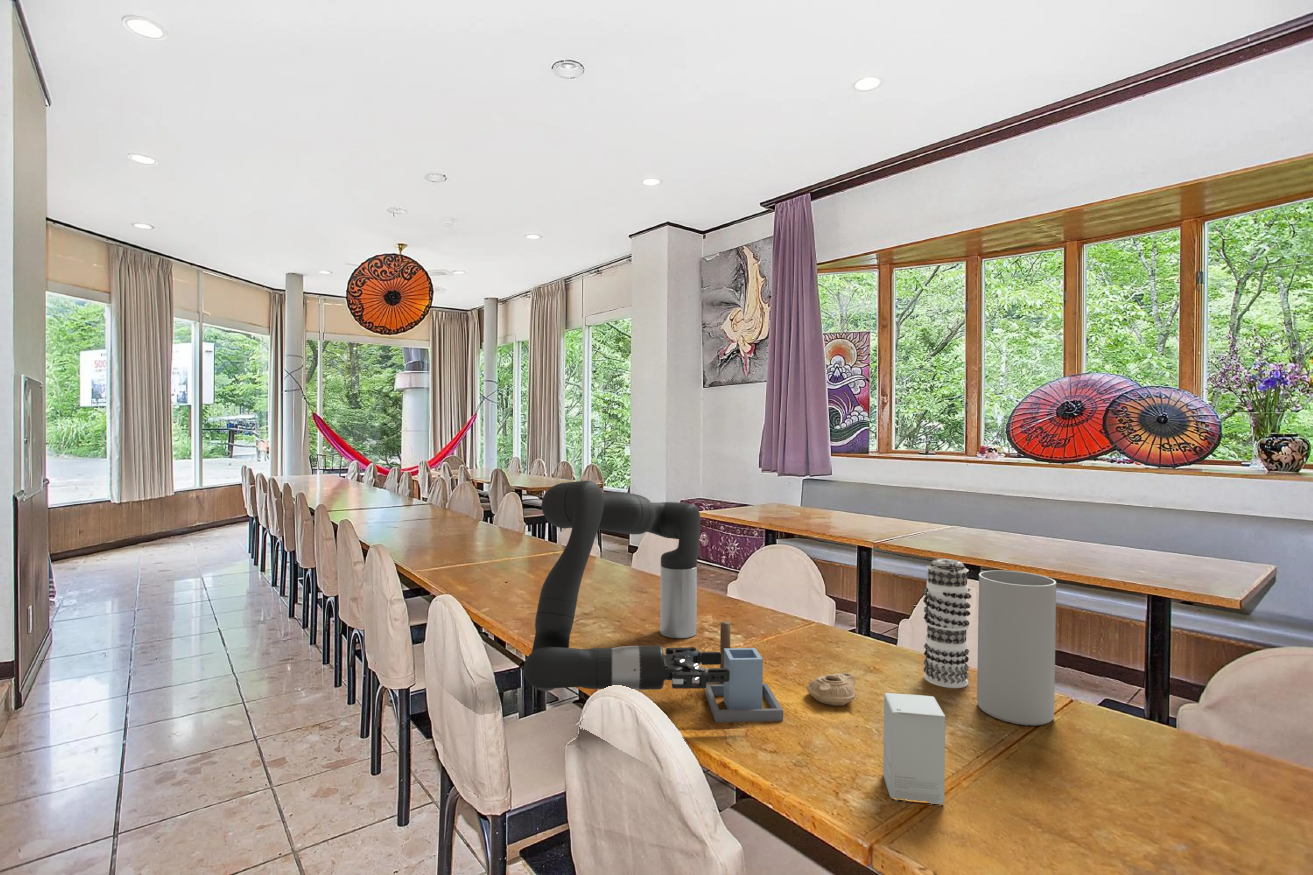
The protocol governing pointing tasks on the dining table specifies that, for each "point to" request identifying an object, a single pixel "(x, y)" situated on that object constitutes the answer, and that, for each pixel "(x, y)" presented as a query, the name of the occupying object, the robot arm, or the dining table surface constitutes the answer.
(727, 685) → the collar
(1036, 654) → the cylinder vase
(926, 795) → the supplement box
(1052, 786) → the dining table surface
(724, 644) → the box
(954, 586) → the decorative candle
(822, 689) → the pottery oil lamp
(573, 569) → the robot arm
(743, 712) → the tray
